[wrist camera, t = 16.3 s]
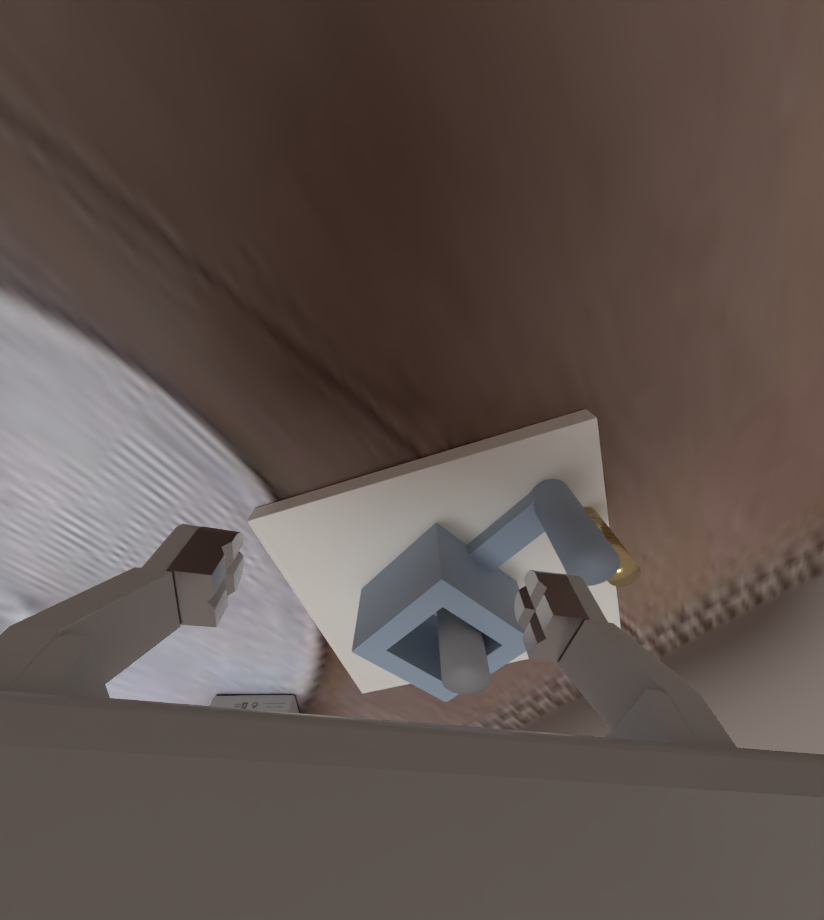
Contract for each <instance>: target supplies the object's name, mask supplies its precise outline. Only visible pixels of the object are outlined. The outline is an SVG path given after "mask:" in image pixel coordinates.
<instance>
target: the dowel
mask: <svg viewBox="0 0 824 920" xmlns="http://www.w3.org/2000/svg"><path fill="white" fill-rule="evenodd" d="M584 509H585V510H586V512H587V513H588V514H589V516H590V517H591V518H592V520H593V521H594V523H595V524H596V525H597V527H598V528H599V529H600V531H601V532H602V533H603V535H604V536H605V538H606V539H607V540H608V542H609V543H610V544H611V546H612V547H613V549H614V550H615V551H616V553H617V554H618V556H619V558H620V566H619V568H618V570H617V572H616V573H615V574H614V575H613V576H612V577H611V578H610V579H608V580H607V581H608V582H609V583H610V584H611V585H613V586H626V585H629V584H631V583H633V582H634V581H635V580H636V579H637V578H638V577H639V575H640V567H639V566H638V564H637V563H636V562H635V561H634V559H633V558H632V557H631V555H630V554H629V553H628V552H627V550H626V549H625V548H624V546H623V545H622V544H621V542H620V541H619V540H618V539H617V537H616V536H615V535H614V533H613V532H612V531H611V530H610V528H609V527H608V526H607V524H606V523H605V522H604V520H603V519H602V518H601V517H600V515H599V514H598V513H597V511H596V510H595V509H593V508H590V507H584Z"/></svg>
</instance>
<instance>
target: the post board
mask: <svg viewBox="0 0 824 920" xmlns="http://www.w3.org/2000/svg"><path fill="white" fill-rule="evenodd" d="M548 479H558V480H561V481H563V482H565V483H566V484H567V486H568V487H569V488H570V490H571V491H572V492H573V494H574V495H575V497H576V498H577V499H578V501H579V502H580V503H581V505H582V506H583V507H590V508H593V509H595V510H596V511H597V513H598V514H599V515H600V517H601V518H602V519H603V520H604V522H605V523H606V524H607V526H608V527H609V521H608V512H607V503H606V494H605V485H604V476H603V467H602V458H601V449H600V441H599V432H598V423H597V417H595V416H594V415H593V414H592V413H590V412H589V411H588V410H587V409H584V410H580V411H577V412H574V413H570V414H567V415H564V416H560V417H557V418H554V419H550V420H547V421H544V422H540V423H537V424H534V425H530V426H527V427H524V428H520V429H517V430H514V431H511V432H507V433H504V434H501V435H497V436H494V437H491V438H487V439H484V440H481V441H477V442H474V443H471V444H467V445H464V446H461V447H457V448H454V449H451V450H447V451H444V452H441V453H437V454H434V455H431V456H427V457H424V458H421V459H417V460H414V461H411V462H407V463H404V464H401V465H398V466H394V467H391V468H388V469H384V470H381V471H378V472H374V473H371V474H368V475H364V476H361V477H358V478H354V479H351V480H348V481H344V482H341V483H338V484H334V485H331V486H328V487H324V488H321V489H318V490H314V491H311V492H308V493H304V494H301V495H298V496H294V497H291V498H288V499H284V500H281V501H278V502H275V503H271V504H268V505H265V506H261V507H258V508H255V510H254V511H253V513H252V514H251V516H250V517H249V519H248V521H247V522H248V524H249V525H250V527H251V528H252V530H253V531H254V533H255V534H256V536H257V537H258V539H259V540H260V542H261V543H262V545H263V546H264V548H265V549H266V550H267V552H268V553H269V555H270V556H271V558H272V559H273V561H274V562H275V564H276V565H277V567H278V568H279V570H280V571H281V573H282V574H283V576H284V577H285V579H286V580H287V582H288V583H289V585H290V586H291V588H292V589H293V591H294V592H295V594H296V595H297V597H298V598H299V600H300V601H301V603H302V604H303V606H304V607H305V609H306V610H307V612H308V613H309V615H310V616H311V618H312V619H313V621H314V622H315V624H316V625H317V627H318V628H319V630H320V631H321V633H322V634H323V636H324V637H325V638H326V640H327V641H328V643H329V644H330V646H331V647H332V649H333V650H334V652H335V653H336V655H337V656H338V658H339V659H340V661H341V662H342V664H343V665H344V667H345V668H346V670H347V671H348V673H349V674H350V676H351V677H352V679H353V680H354V682H355V683H356V685H357V686H358V688H359V689H360V691H361V692H362V694H363V693H367V692H372V691H377V690H382V689H387V688H391V687H396V686H401V685H406V684H411V683H409V682H407V681H405V680H403V679H401V678H399V677H398V676H396V675H394V674H392V673H390V672H388V671H386V670H384V669H383V668H381V667H379V666H377V665H375V664H373V663H371V662H369V661H368V660H366V659H364V658H362V657H360V656H358V655H356V654H354V653H353V652H352V646H353V640H354V633H355V627H356V620H357V614H358V608H359V601H360V595H361V589H362V588H363V587H364V586H365V585H366V584H368V583H369V582H370V581H371V580H372V579H373V578H374V577H375V576H376V575H378V574H379V573H380V572H381V571H382V570H383V569H384V568H385V567H387V566H388V565H389V564H390V563H391V562H392V561H393V560H394V559H396V558H397V557H398V556H399V555H400V554H401V553H402V552H403V551H405V550H406V549H407V548H408V547H409V546H410V545H411V544H412V543H413V542H415V541H416V540H417V539H418V538H419V537H420V536H421V535H422V534H424V533H425V532H426V531H427V530H428V529H429V528H430V527H431V526H433V525H434V524H435V523H437V524H439V525H440V526H442V527H443V528H444V529H446V530H447V531H448V532H450V533H451V534H453V535H454V536H455V537H457V538H458V539H459V540H461V541H462V542H463V543H465V544H466V545H467V544H469V543H470V542H471V541H472V540H473V539H475V538H476V537H477V536H478V535H479V534H481V533H482V532H483V531H484V530H485V529H487V528H488V527H489V526H490V525H492V524H493V523H494V522H495V521H496V520H498V519H499V518H500V517H501V516H502V515H504V514H505V513H506V512H507V511H508V510H510V509H511V508H512V507H513V506H515V505H516V504H517V503H518V502H519V501H521V500H522V499H523V498H524V497H525V496H527V495H528V494H529V493H530V492H531V491H532V490H533V488H534V487H535V486H536V485H537V484H539V483H540V482H542V481H544V480H548ZM498 568H499V569H500V570H502V571H503V572H504V573H506V574H507V575H509V576H510V577H511V578H513V579H514V580H515V581H517V584H518V587H519V589H521V588H523V587H524V586H526V585H525V582H524V577H525V575H526V573H527V572H528V571H530V570H535V571H543V572H551V573H559V574H567V573H566V571H565V569H564V567H563V565H562V563H561V561H560V559H559V557H558V555H557V554H556V552H555V550H554V548H553V546H552V544H551V542H550V540H549V538H548V536H547V534H546V532H544V533H542V534H541V535H540V536H538V537H537V538H536V539H535V540H533V541H532V542H531V543H529V544H528V545H527V546H525V547H524V548H523V549H522V550H520V551H519V552H518V553H516V554H515V555H514V556H512V557H511V558H510V559H508V560H507V561H506V562H505V563H503V564H502V565H501V566H499V567H498ZM588 588H589V590H590V592H591V593H592V595H593V597H594V599H595V600H596V602H597V604H598V606H599V607H600V609H601V611H602V612H603V614H604V616H605V618H606V619H607V621H608V622H609V623H614V624H615V625H616V626H617V627H619V628H620V629H621V627H620V618H619V609H618V601H617V592H616V586H613V585H611V584H610V583H609V582H608V581H605V582H603V583H600V584H597V585H592V586H588ZM433 615H435V616H437V624H438V638H439V651H440V664H441V677H442V684H443V686H444V687H445V688H446V689H447V690H449V691H451V692H453V693H457V694H472V693H476V692H479V691H481V690H483V689H484V688H486V687H487V686H488V684H489V683H490V680H491V676H490V671H489V666H488V661H487V656H486V651H485V646H484V641H483V636H482V632H481V631H479V630H478V629H476V628H475V627H473V626H472V625H470V624H468V623H467V622H465V621H464V620H462V619H461V618H459V617H458V616H456V615H454V614H453V613H451V612H450V611H448V610H447V609H445V608H443V607H442V608H441V609H439V610H438V611H437V612H435V613H434V614H433ZM526 659H529V658H528V654H527V651H526V652H524V653H523V654H521V655H520V656H518V657H516V658H515V659H513V660H512V661H510V662H509V663H511V662H516V661H521V660H526Z"/></svg>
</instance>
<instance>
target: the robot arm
mask: <svg viewBox="0 0 824 920" xmlns="http://www.w3.org/2000/svg"><path fill="white" fill-rule="evenodd" d="M242 545H243V537H242V534H241V533H240V532H235V531H228V530H222V529H215V528H209V527H199V526H193V525H187V524H181V525H179V526H177V527H176V528H175V529H174V531H173V532H172V533H171V534H170V535H169V536H168V538H167V539H166V540H165V541H164V542H163V543H162V545H161V546H160V547H159V548H158V549H157V550H156V552H155V553H154V554H153V555H152V556H151V557H150V559H149V560H148V561H147V562H146V563H145V564H144V566H143V567H142V568H136V567H135V568H133V569H131V570H128V571H126V572H124V573H122V574H120V575H118V576H116V577H114V578H111V579H109V580H107V581H105V582H103V583H101V584H99V585H97V586H94V587H92V588H90V589H88V590H86V591H84V592H82V593H80V594H77V595H75V596H73V597H71V598H69V599H67V600H65V601H63V602H60V603H58V604H56V605H54V606H52V607H50V608H48V609H46V610H43V611H41V612H39V613H37V614H35V615H33V616H31V617H29V618H26V619H24V620H22V621H20V622H18V623H16V624H14V625H12V626H10V627H9V628H8V629H6V630H5V631H4V632H3V633H2V634H1V635H0V920H824V755H823V754H810V753H796V752H784V751H771V750H759V749H746V748H737V747H736V746H735V744H734V743H733V741H732V740H731V738H730V737H729V735H728V734H727V732H726V731H725V729H724V728H723V727H722V725H721V724H720V722H719V721H718V719H717V718H716V716H715V715H714V713H713V712H712V710H711V709H710V708H709V706H708V705H707V703H706V702H705V700H704V699H703V697H702V696H701V694H700V693H699V692H697V691H696V690H695V689H694V688H692V687H691V686H690V685H689V684H688V683H686V682H685V681H684V680H683V679H681V678H680V677H679V676H678V675H676V674H675V673H674V672H673V671H672V670H670V669H669V668H668V667H667V666H665V665H664V664H663V663H662V662H661V661H659V660H658V659H657V658H656V657H654V656H653V655H652V654H651V653H649V652H648V651H647V650H646V649H645V648H643V647H642V646H641V645H640V644H638V643H637V642H636V641H635V640H633V639H632V638H631V637H630V636H629V635H627V634H626V633H625V632H624V631H622V630H621V629H620V628H619V627H617V626H616V625H615V624H614V623H609V622H608V621H607V619H606V618H605V616H604V614H603V612H602V611H601V609H600V607H599V606H598V604H597V602H596V600H595V599H594V597H593V595H592V593H591V592H590V590H589V588H588V586H587V585H586V583H585V581H584V579H583V578H582V577H580V576H579V575H570V574H559V573H551V572H543V571H535V570H530V571H528V572H527V573H526V575H525V577H524V582H525V585H526V586H524V587H523V588H521V589H519V590H518V593H517V595H516V597H515V605H514V610H515V617H516V620H517V623H518V624H519V625H520V626H521V627H522V628H523V629H524V630H525V631H524V634H523V636H522V639H523V642H524V645H525V648H526V651H527V654H528V658H529V659H532V660H540V661H547V662H555V663H558V665H559V667H560V668H561V669H562V670H563V672H564V673H565V674H566V675H567V676H568V678H569V679H570V680H571V681H572V682H573V684H574V685H575V686H576V687H577V689H578V690H579V691H580V692H581V693H582V695H583V696H584V697H585V698H586V699H587V700H588V702H589V703H590V704H591V706H592V707H593V708H594V709H595V710H596V712H597V713H598V714H599V715H600V716H601V717H602V719H603V720H604V721H605V723H606V724H607V725H608V726H609V727H610V728H611V731H610V732H609V733H608V734H607V736H606V737H594V736H582V735H569V734H557V733H543V732H531V731H518V730H506V729H493V728H480V727H467V726H455V725H442V724H429V723H416V722H404V721H391V720H378V719H366V718H353V717H340V716H328V715H315V714H302V713H290V712H277V711H264V710H252V709H239V708H227V707H214V706H201V705H189V704H176V703H164V702H151V701H138V700H126V699H113V698H110V697H109V694H108V691H107V688H106V685H105V684H106V683H107V682H109V681H110V680H111V679H113V678H114V677H115V676H116V675H118V674H119V673H120V672H122V671H123V670H124V669H126V668H127V667H128V666H130V665H131V664H132V663H133V662H135V661H136V660H137V659H139V658H140V657H141V656H143V655H144V654H145V653H146V652H148V651H149V650H150V649H152V648H153V647H154V646H156V645H157V644H158V643H160V642H161V641H162V640H163V639H165V638H166V637H167V636H169V635H170V634H171V633H173V632H174V631H175V630H176V629H178V628H179V627H180V625H194V626H207V627H217V625H218V623H219V621H220V619H221V617H222V615H223V613H224V611H225V609H226V607H227V606H228V602H227V596H228V595H230V594H231V593H233V592H234V591H235V590H236V588H237V586H238V584H239V581H240V578H241V574H242V571H243V563H244V562H243V555H242V554H241V553H240V552H239V550H240V548H241V546H242Z"/></svg>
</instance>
